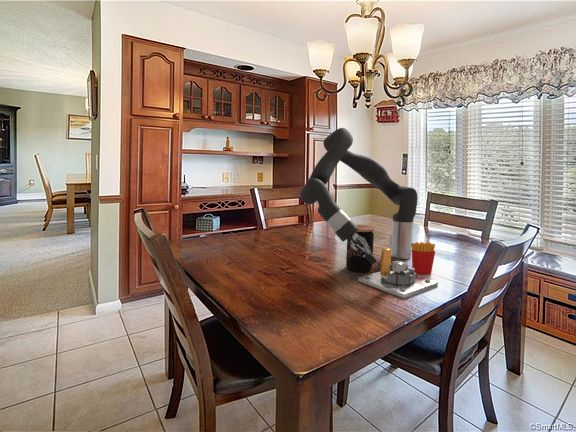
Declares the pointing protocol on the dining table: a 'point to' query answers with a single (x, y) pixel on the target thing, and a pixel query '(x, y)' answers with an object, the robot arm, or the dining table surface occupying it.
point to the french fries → (423, 257)
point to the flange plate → (398, 289)
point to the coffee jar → (352, 258)
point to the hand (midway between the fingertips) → (375, 262)
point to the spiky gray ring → (389, 275)
